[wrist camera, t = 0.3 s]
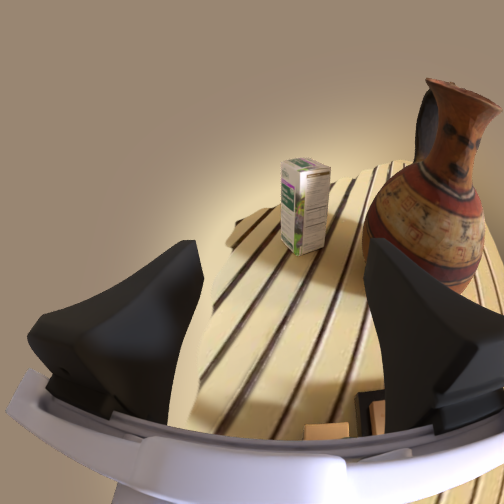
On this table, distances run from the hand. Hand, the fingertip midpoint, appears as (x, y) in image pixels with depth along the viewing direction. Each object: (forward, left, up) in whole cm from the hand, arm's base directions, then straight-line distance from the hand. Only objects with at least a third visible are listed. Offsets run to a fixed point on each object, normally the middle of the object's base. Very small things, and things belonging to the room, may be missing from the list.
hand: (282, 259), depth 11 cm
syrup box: (+30, -3, -20) cm, 37 cm away
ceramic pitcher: (+22, -21, -20) cm, 37 cm away
